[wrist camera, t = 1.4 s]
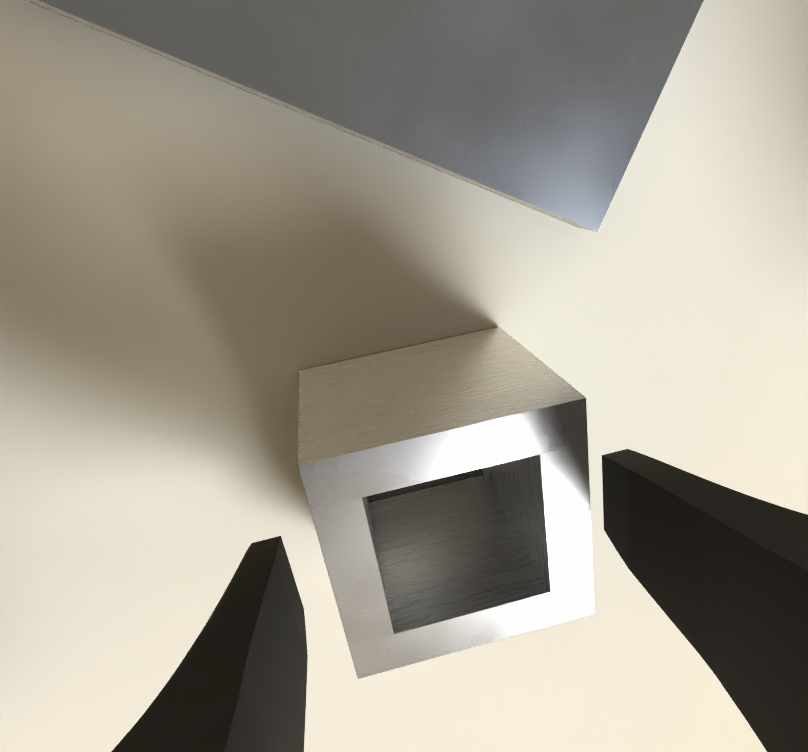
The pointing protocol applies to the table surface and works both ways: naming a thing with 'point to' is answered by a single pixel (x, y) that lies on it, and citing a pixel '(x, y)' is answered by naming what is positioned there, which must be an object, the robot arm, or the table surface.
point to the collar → (447, 496)
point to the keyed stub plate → (441, 78)
